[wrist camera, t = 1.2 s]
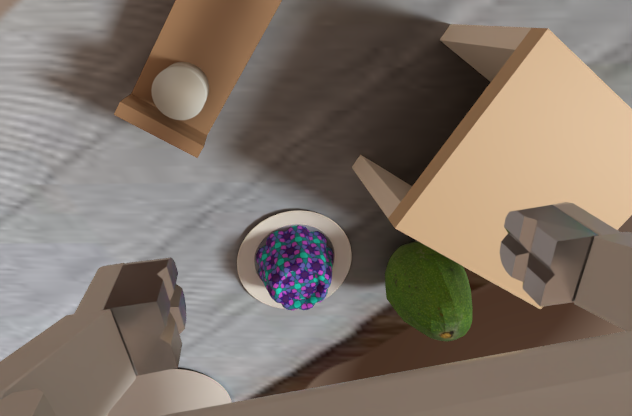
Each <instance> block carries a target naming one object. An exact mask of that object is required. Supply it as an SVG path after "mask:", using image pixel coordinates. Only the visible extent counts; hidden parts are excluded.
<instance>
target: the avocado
mask: <svg viewBox="0 0 632 416" xmlns="http://www.w3.org/2000/svg"><path fill="white" fill-rule="evenodd" d="M385 286H386V296H387V300H388V301H389V302H390V304H391V305H392V306H393V308H394V309H395V310H396V312H397V313H398V314H399V315H400V317H401V318H402V319H403V320H404V322H406V323H408V324H409V325H411V326H412V327H414V328H416V329H417V330H419V331H420V332H422V333H424V334H425V335H427V336H429V337H430V338H433V339H436V340H440V341H452V340H456V339H458V338H460V337H462V336H464V335H465V334H466V333H467V331H468V330H469V329H470V326H471V323H472V299H471V290H470V286H469V281H468V277H467V275H466V272H465V270H464V268H463V266H462V265H460V264H458V263H456V262H455V261H453V260H451V259H449V258H447V257H446V256H444V255H442V254H440V253H438V252H437V251H435V250H433V249H431V248H430V247H428V246H426V245H424V244H422V243H421V242H419V241H417V242H411V243H408V244H405V245H402V246H400V247H399V248H398V249H397V250H396V251H395V252H394V253H393V254H392V256H391V257H390V259H389V261H388V264H387V268H386V271H385Z"/></svg>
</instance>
